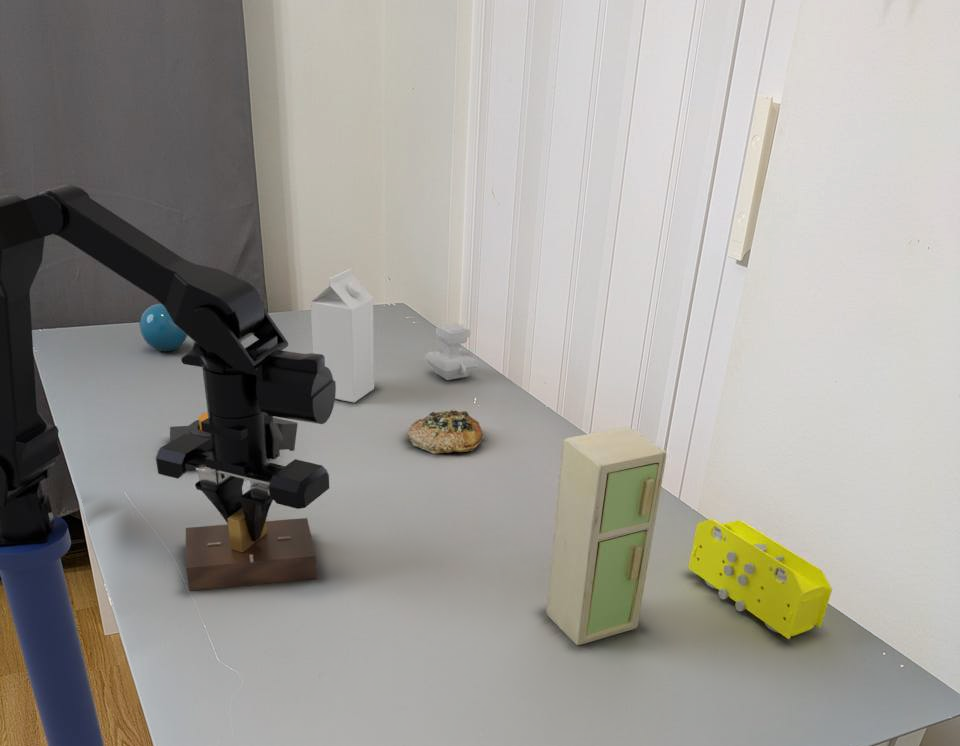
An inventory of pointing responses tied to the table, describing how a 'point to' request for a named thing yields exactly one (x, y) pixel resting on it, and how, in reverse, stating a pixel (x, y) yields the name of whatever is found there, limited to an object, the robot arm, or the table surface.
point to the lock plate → (250, 556)
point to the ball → (160, 329)
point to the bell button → (202, 419)
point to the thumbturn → (241, 532)
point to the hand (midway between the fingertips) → (248, 537)
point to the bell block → (191, 429)
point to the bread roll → (446, 432)
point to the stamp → (452, 353)
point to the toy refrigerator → (603, 532)
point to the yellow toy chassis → (760, 576)
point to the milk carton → (345, 335)
